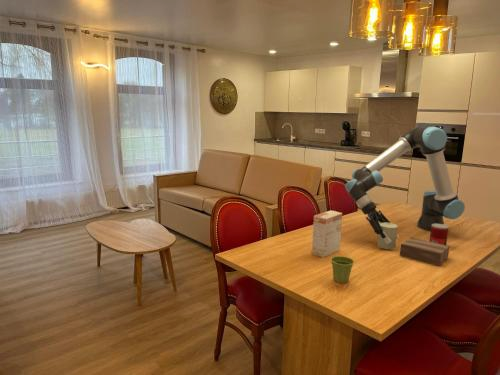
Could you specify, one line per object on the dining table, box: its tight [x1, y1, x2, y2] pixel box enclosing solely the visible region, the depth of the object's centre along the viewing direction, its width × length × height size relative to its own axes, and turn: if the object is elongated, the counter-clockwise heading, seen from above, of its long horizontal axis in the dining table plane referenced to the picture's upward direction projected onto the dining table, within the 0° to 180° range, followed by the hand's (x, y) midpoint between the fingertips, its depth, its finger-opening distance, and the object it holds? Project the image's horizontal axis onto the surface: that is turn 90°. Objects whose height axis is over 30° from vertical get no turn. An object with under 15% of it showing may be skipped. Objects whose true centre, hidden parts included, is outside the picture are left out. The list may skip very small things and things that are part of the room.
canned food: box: [429, 223, 449, 245], centre depth 195 cm, size 8×8×11 cm
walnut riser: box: [399, 236, 450, 267], centre depth 180 cm, size 14×18×6 cm
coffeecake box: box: [311, 210, 343, 258], centre depth 182 cm, size 15×7×20 cm, turn 134°
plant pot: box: [330, 255, 355, 284], centre depth 152 cm, size 9×9×9 cm
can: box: [376, 222, 399, 250], centre depth 193 cm, size 9×9×12 cm
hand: (393, 240), depth 191 cm, fingers closed on can, 9 cm apart
